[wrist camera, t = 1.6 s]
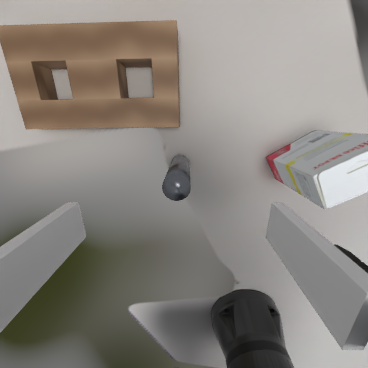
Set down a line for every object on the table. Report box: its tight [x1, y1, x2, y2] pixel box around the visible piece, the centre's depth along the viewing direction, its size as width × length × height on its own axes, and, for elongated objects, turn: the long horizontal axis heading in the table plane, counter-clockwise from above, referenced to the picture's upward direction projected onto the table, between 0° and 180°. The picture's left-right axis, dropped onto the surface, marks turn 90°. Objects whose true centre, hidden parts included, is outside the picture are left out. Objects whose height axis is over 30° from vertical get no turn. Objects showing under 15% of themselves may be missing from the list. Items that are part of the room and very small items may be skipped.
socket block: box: [0, 20, 180, 129], centre depth 25 cm, size 12×22×4 cm, turn 91°
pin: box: [162, 155, 191, 201], centre depth 24 cm, size 3×3×12 cm
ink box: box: [266, 131, 368, 210], centre depth 24 cm, size 9×5×12 cm, turn 120°
